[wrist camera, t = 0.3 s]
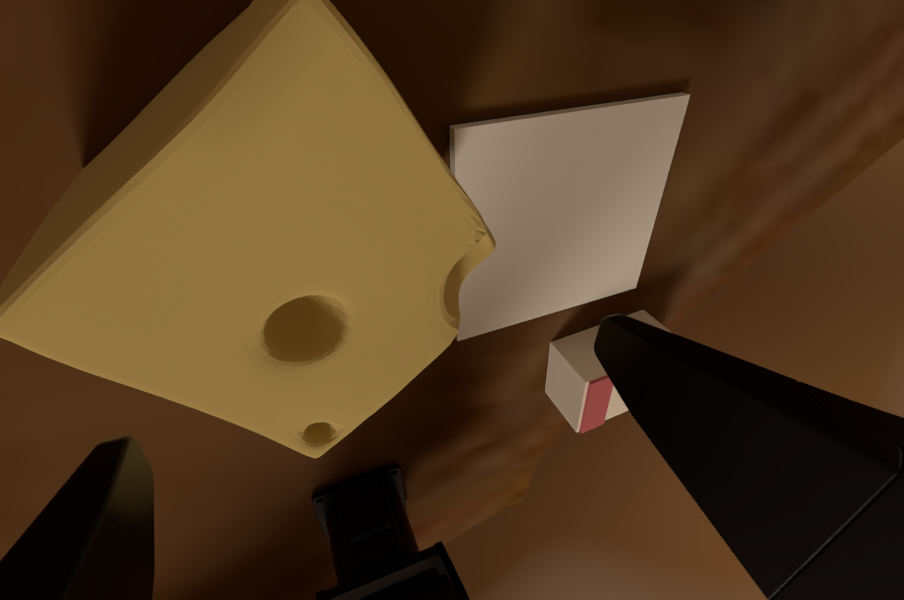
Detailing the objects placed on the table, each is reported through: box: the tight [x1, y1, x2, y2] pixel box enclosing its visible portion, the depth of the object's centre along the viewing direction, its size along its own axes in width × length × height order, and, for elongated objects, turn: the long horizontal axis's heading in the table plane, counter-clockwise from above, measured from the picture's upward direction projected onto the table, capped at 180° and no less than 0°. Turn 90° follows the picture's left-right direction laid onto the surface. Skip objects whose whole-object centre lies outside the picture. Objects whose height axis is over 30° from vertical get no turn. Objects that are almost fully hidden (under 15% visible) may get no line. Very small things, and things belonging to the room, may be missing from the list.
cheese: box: [0, 0, 496, 458], centre depth 16 cm, size 10×11×10 cm
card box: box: [545, 310, 670, 433], centre depth 34 cm, size 8×6×5 cm, turn 93°
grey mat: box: [449, 92, 690, 341], centre depth 27 cm, size 13×14×1 cm
